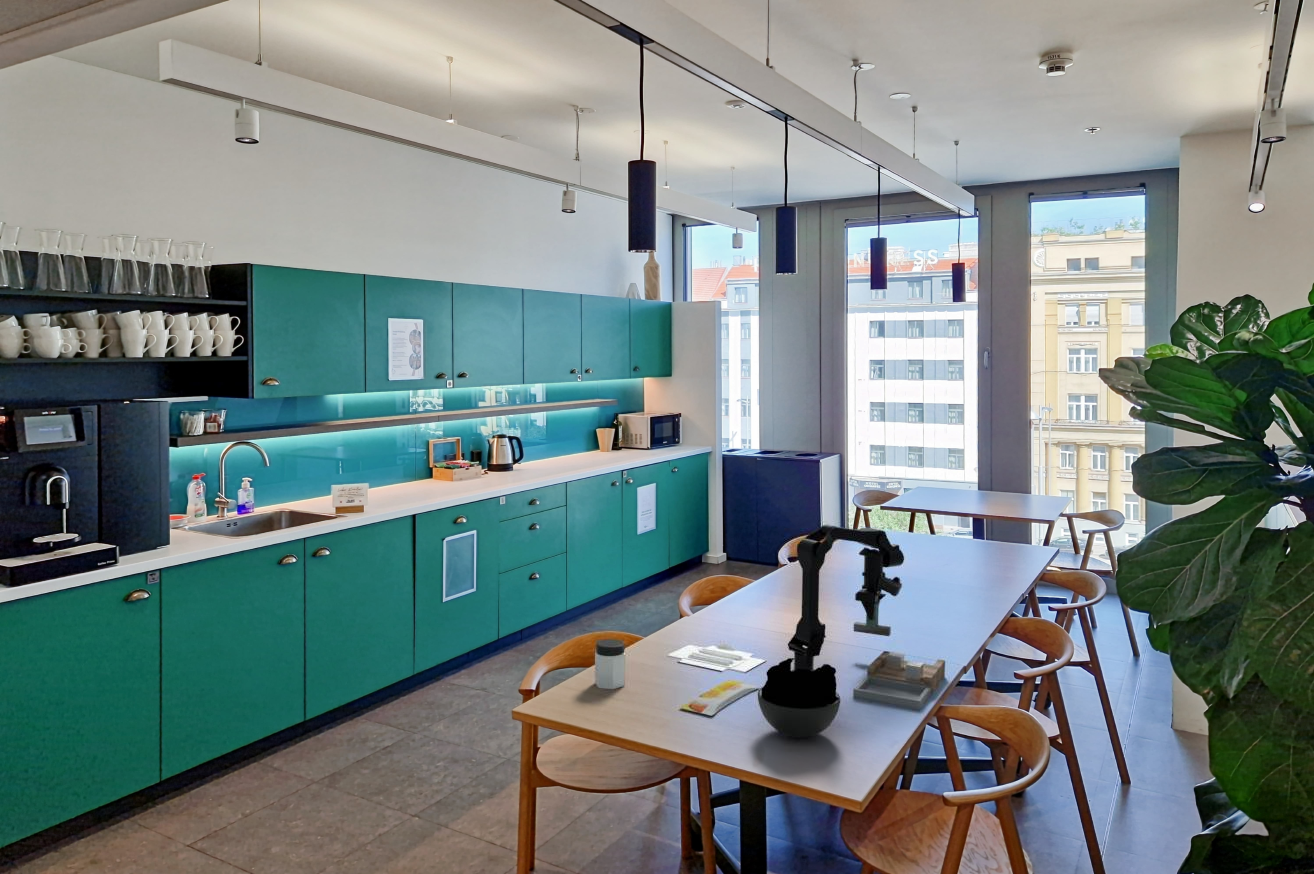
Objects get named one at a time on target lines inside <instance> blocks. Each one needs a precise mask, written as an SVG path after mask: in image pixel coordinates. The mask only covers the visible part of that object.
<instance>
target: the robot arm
mask: <svg viewBox="0 0 1314 874" xmlns="http://www.w3.org/2000/svg"><path fill="white" fill-rule="evenodd" d="M886 533H887V532H886V531H885V530H882V529H877V528H872V527H863V528H862V527H861V528H858V529H855V528H849V527H848V528H847V527H841V526H835V525H831V524H823V525H821V526H820V527H819V528H818V529H817V530H814V531H813V532H811V533H809V534H808V535H806V536H805V537H804V538H803V539H801V540H800V541H799V542H798V543H797V544H796V555H797V560H798V563H799V565H800V567H801V569H802V572H801V573H802V575H801V576H802V581H801V582H802V583H801V584H802V585H801V617H800V619H799V620H798V622H797V624H796V628H795V633H794V635H793V636H792V637H791V639H790V640H789V641H788V643H787V647H788V650H789V652H790V651H792V652H794V653H793V656H794V657H793V658H794V660H793V669H791V671H795V670H797V669H806V670H810V671H814V670H815V669H814V662H815V661H814V659H815V658H814V657H817V656H820V653H821V651H822V647H823V645H824V642H825V638H827V636H826V627H827V626H826V624H825V623H824V622H821V620H820V619H819V603H820V600H819V599H820V597H819V596H820V570H821V569H822V567H823V566H824V563H825V560H826V559H825V558H826V555H827V553H828V552H829V551H830V550H831V549H832V548H833V544H834V542H835V541H836V540H839V541H840V540H841V541H846V542H847V541H848V542H855V543H858V544H860V545H863V546H865V547H864V548H862V549H861V550H860V552H858V554H859V555H860V556H862V557H864V559H863V562H864V563H863V571H862V572H861V576H862V577H863V584H862V585H861V589H860V590H858V591H857V592H856V593H855V594H854V595H855V597H854V600H855V601H856V602H861V603H860V604H861V605H862V607H863V609H864V612H865V614H867V616H868V618H869V620H873V616H874V611H875V606H876V603H879V604H880V603H881V600H882V599H884V598H885V597H886V596H887V594H886V593H888V594H890V595H891V596H893V597H897V596H898V595H899V594H900V591H901V589H902V587H903V583H901V578H900V577H898V576H895V577H893V578H890V577H886V573H885V571H884V569H885V568H891V567H893V568H894V567H900V566H902V564H904V561H905V556H904V553H903V551H902V550H901V549H900V545H899V544H895V543H894V544H891V542H890V540H889V538H888V536H887V534H886ZM821 541H822V542H821ZM868 547H869V548H868ZM871 548H872V549H871ZM882 591H883V592H886V593H883V592H882Z"/></svg>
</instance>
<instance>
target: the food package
mask: <svg viewBox="0 0 1314 874" xmlns="http://www.w3.org/2000/svg"><path fill="white" fill-rule="evenodd" d="M760 688H761V687H760V686H758V685H755V684H749V683H745V682H740V681H735V680H732V679H729V680H726V681H725V682H723V683H721V684H719V685H717V686H715V687H713V688H711V689H710V690H708V691H706V692H704V693H702V694H701V695H699V696H697V697H695V698H694V699H692V700H691V701H688V702H687V703H685V704H682V705H681V706H679V709H683V710H686V711H691V712H694V713H698V714H703V715H707V716H710V717H712V716H713V715H715V714H717V713H718V712H720V710H722V709H724V708H725V707H727V706H729V705H730V704H732V703H733V702H735V701H737V700H739V699H740V698H742V697H744V696H747V694H750V693H752V692H753V691H755V690H758V689H760Z"/></svg>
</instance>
